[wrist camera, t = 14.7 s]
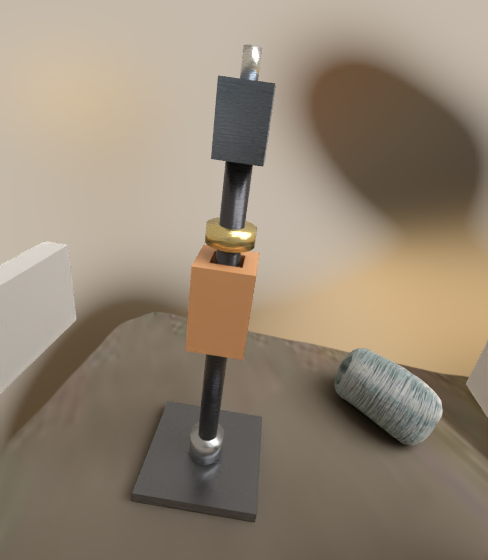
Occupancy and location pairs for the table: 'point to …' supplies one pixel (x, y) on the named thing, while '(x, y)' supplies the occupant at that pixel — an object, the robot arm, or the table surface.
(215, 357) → the stand
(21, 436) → the table surface
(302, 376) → the table surface
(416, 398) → the spool
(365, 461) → the table surface
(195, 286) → the sleeve
